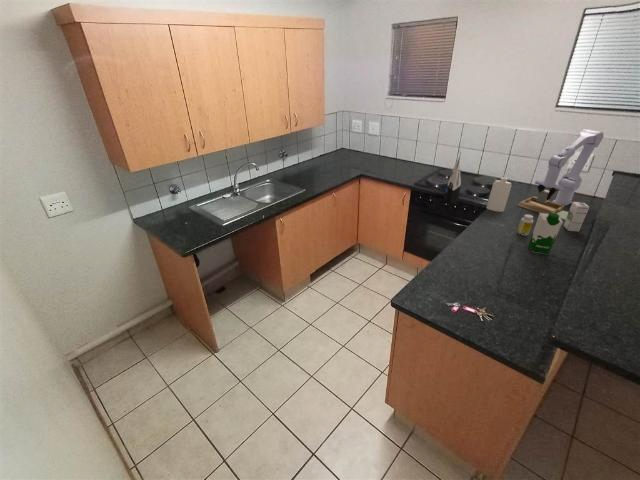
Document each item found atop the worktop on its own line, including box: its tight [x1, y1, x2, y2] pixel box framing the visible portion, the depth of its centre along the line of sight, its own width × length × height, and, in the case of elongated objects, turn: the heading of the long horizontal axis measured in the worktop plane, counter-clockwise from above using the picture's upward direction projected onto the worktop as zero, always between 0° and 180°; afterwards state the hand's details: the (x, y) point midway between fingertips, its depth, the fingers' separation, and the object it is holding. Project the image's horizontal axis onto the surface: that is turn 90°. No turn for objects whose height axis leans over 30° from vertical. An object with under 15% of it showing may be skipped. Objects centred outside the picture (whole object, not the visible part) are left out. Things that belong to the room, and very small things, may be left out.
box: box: [537, 189, 551, 204], centre depth 191 cm, size 7×4×6 cm, turn 124°
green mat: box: [555, 209, 569, 221], centre depth 185 cm, size 12×7×1 cm, turn 124°
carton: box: [518, 196, 565, 214], centre depth 194 cm, size 17×18×3 cm
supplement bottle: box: [516, 214, 534, 236], centre depth 166 cm, size 6×6×10 cm
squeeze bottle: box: [486, 176, 512, 213], centre depth 189 cm, size 10×20×5 cm
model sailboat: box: [443, 151, 462, 205], centre depth 203 cm, size 10×24×30 cm, turn 157°
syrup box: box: [562, 201, 590, 232], centre depth 168 cm, size 6×6×14 cm
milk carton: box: [528, 213, 564, 255], centre depth 149 cm, size 9×9×20 cm
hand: (543, 198), depth 192 cm, fingers closed on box, 4 cm apart
